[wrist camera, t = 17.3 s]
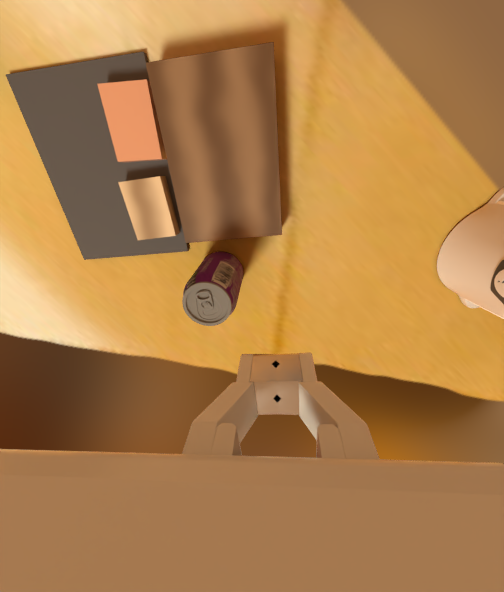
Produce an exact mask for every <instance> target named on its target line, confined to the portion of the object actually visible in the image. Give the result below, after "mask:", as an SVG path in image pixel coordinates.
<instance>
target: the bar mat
mask: <svg viewBox="0 0 504 592" xmlns="http://www.w3.org/2000/svg"><path fill="white" fill-rule="evenodd" d="M146 63H148V62H147V57H146V54H145V53H144V52H138V53H132V54H126V55H120V56H114V57H108V58H102V59H96V60H90V61H84V62H78V63H72V64H66V65H60V66H54V67H48V68H42V69H36V70H30V71H24V72H18V73H12V74H6V77H7V79H8V81H9V84H10V86H11V88H12V91H13V93H14V95H15V98H16V100H17V103H18V105H19V107H20V110H21V112H22V114H23V117H24V119H25V121H26V124H27V126H28V128H29V131H30V133H31V135H32V138H33V140H34V143H35V145H36V147H37V150H38V152H39V154H40V157H41V159H42V161H43V164H44V166H45V168H46V171H47V173H48V175H49V178H50V180H51V183H52V185H53V187H54V190H55V192H56V194H57V197H58V199H59V201H60V204H61V206H62V208H63V211H64V213H65V215H66V218H67V220H68V222H69V225H70V227H71V230H72V232H73V234H74V237H75V239H76V241H77V244H78V246H79V248H80V251H81V253H82V255H83V258H84V260H86V259H98V258H110V257H122V256H134V255H146V254H158V253H171V252H183V251H188V250H189V248H188V243H186V242H185V237H184V233H183V228H182V224H181V220H180V215H179V211H178V206H177V202H176V197H175V193H174V188H173V184H172V179H171V175H170V170H169V166H168V161H167V160H155V161H139V162H118V161H117V157H116V153H115V149H114V145H113V142H112V138H111V134H110V130H109V127H108V123H107V119H106V115H105V111H104V108H103V104H102V100H101V96H100V92H99V89H98V85H97V84H101V83H112V82H123V81H134V80H145V79H147V80H148V81H149V76H148V72H147V67H146ZM149 82H150V81H149ZM158 176H166V180H167V184H168V188H169V192H170V195H171V199H172V203H173V207H174V211H175V215H176V219H177V223H178V227H179V231H180V233H179V234H178V235H176V236H170V237H161V238H153V239H145V240H138V239H137V236H136V234H135V231H134V228H133V225H132V222H131V219H130V216H129V213H128V210H127V207H126V204H125V201H124V198H123V195H122V192H121V189H120V186H119V183H118V182H124V181H131V180H138V179H144V178H151V177H158Z"/></svg>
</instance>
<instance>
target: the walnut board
mask: <svg viewBox="0 0 504 592" xmlns="http://www.w3.org/2000/svg"><path fill="white" fill-rule="evenodd" d="M146 67H147V72H148V76H149V81H150V85H151V90H152V94H153V99H154V103H155V108H156V112H157V116H158V121H159V125H160V130H161V134H162V139H163V143H164V148H165V152H166V157H167V161H168V166H169V170H170V175H171V179H172V184H173V188H174V193H175V197H176V202H177V206H178V211H179V215H180V220H181V224H182V228H183V233H184V237H185V242H186V243H191V242H203V241H214V240H226V239H238V238H249V237H261V236H273V235H282V225H281V202H280V179H279V156H278V133H277V110H276V87H275V64H274V42H271V43H265V44H258V45H252V46H246V47H240V48H234V49H228V50H221V51H215V52H209V53H203V54H197V55H191V56H184V57H178V58H172V59H166V60H160V61H154V62H148V63H146Z"/></svg>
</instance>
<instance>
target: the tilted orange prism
mask: <svg viewBox="0 0 504 592" xmlns="http://www.w3.org/2000/svg"><path fill="white" fill-rule="evenodd" d="M97 85H98V89H99V92H100V96H101V100H102V104H103V108H104V111H105V115H106V119H107V123H108V127H109V130H110V134H111V138H112V142H113V145H114V149H115V153H116V157H117V161H118V162H139V161H155V160H167V157H166V152H165V148H164V143H163V139H162V134H161V130H160V125H159V121H158V116H157V112H156V108H155V103H154V99H153V94H152V90H151V85H150V82H149V81H148V80H147V79H145V80H134V81H123V82H112V83H101V84H97Z"/></svg>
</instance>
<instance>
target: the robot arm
mask: <svg viewBox="0 0 504 592" xmlns="http://www.w3.org/2000/svg"><path fill="white" fill-rule="evenodd" d="M437 271H438V275H439V278H440V280H441V281H442V283H443V284H444V285H445V286H446V287H447V288H449V289H450V290H452V291H454V292H455V293H457V294H458V295H459V297H460V299H461V301H462V303H463V304H464V305H465V306H467V307H469V308H478V307H481V308H483V309H485V310H487V311H489V312H491V313H493V314H495V315H497V316H499V317H501V318H503V319H504V187H503V188H502V189H500V190H499V191H498V192H497V193H496V194H495V195H494V197H493V198H492V199H491V200H490V201H489V202H488V203H487V204H486V205H484V206H483V207H482V208H480V209H478V210H477V211H475V212H473V213H472V214H470V215H469V216H467V217H466V218H465V219H464V220H462V221H461V222H460V223H459V224H458V225H457V226H456V227H455V228H454V229H453V230H452V231H451V232H450V234H449V235H448V236H447V238H446V239H445V241H444V243H443V245H442V247H441V249H440V252H439V255H438V260H437ZM261 414H289V415H300V417H301V419H302V420H303V421H304V423H305V424H306V425H307V427H308V428H309V430H310V431H311V433H312V434H313V436H314V437H315V439H316V440H317V455H316V458H299V457H265V456H264V457H263V456H242V454H241V449H240V442H241V441H242V439H243V438H244V436H245V435H246V433H247V432H248V430H249V429H250V427H251V426H252V424H253V423H254V421H255V419H256V418H257V416H258V415H261ZM0 592H504V463H480V462H445V461H411V460H380V459H379V456H378V454H377V451H376V448H375V445H374V443H373V440H372V437H371V434H370V432H369V429H368V426H367V424H366V423H365V422H364V421H363V420H362V419H360V417H359V416H358V415H356V414H355V413H354V412H353V411H352V410H351V409H350V408H349V407H348V406H347V405H346V404H344V402H342V401H341V400H340V399H339V398H338V397H337V396H336V395H335V394H334V393H333V392H332V391H331V390H330V389H328V388H327V387H326V386H325V385H324V384H323V383H322V382H317V377H316V372H315V367H314V362H313V357H312V354H311V353H294V354H242V355H241V359H240V364H239V369H238V375H237V380H236V382H235V383H232V384H231V385H230V386H229V387H228V388H227V389H226V390H225V391H224V392H223V393H221V395H220V396H218V397H217V398H216V400H215V401H213V402H212V403H211V404H210V405H209V406H208V407H207V408H206V409H205V410H204V411H203V412H202V413H201V414H200V415H199V416H198V417H197V418H196V419H195V420H194V421H193V422H192V425H191V428H190V431H189V434H188V437H187V441H186V443H185V446H184V449H183V453H182V454H158V453H122V452H86V451H50V450H49V451H48V450H13V449H0Z"/></svg>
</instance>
